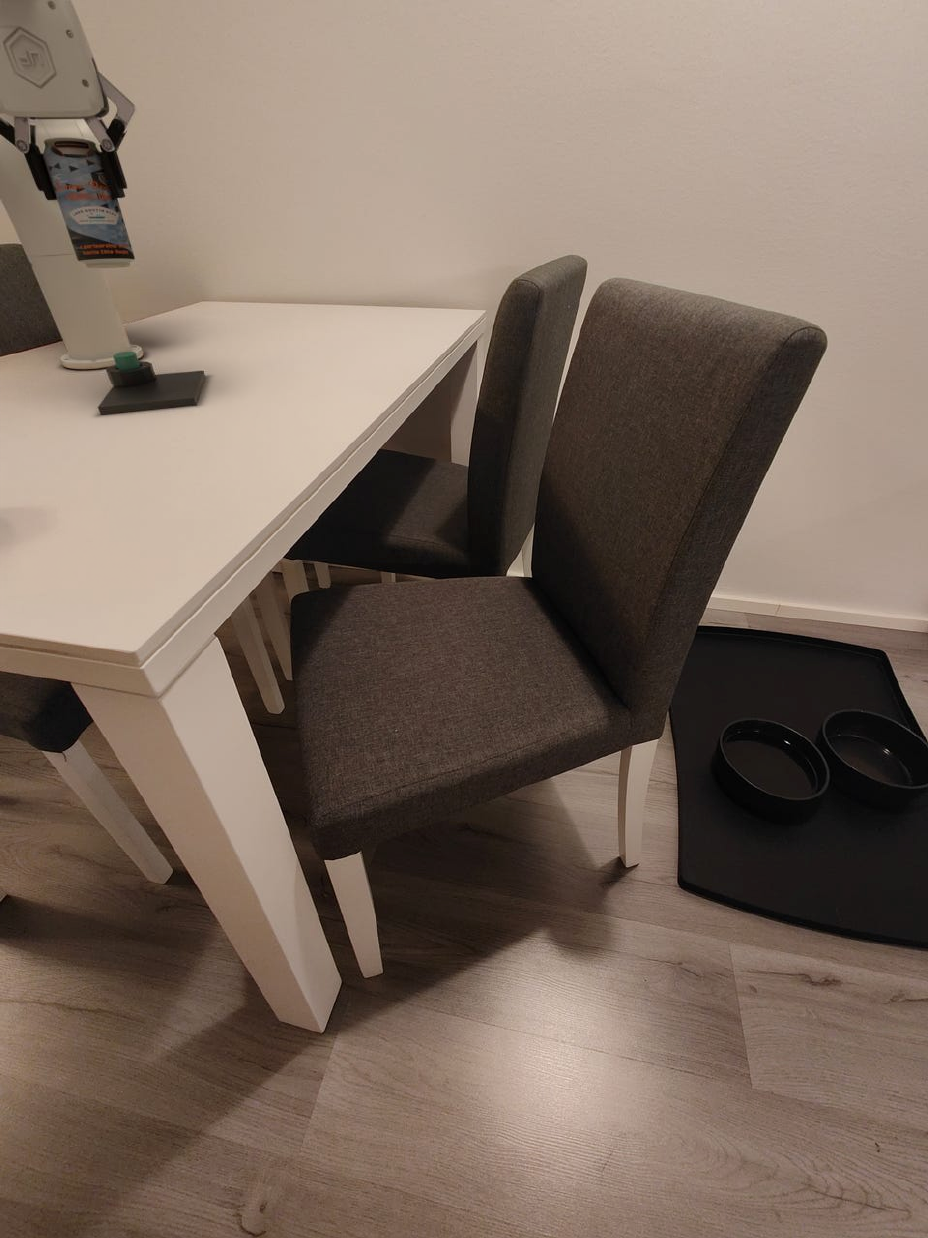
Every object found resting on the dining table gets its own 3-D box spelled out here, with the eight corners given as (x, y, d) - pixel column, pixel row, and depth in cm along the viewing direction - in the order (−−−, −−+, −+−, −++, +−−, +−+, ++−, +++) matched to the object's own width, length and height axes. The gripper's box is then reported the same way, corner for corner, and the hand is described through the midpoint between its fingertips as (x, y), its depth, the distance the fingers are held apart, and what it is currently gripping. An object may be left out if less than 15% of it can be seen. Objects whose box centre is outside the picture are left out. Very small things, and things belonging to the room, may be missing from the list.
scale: (119, 384, 86) (111, 363, 84) (205, 376, 88) (199, 355, 86) (96, 415, 75) (87, 391, 73) (196, 405, 77) (189, 382, 75)
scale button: (120, 367, 83) (115, 352, 82) (142, 365, 84) (137, 350, 82) (116, 372, 81) (110, 357, 80) (139, 370, 81) (133, 355, 80)
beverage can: (79, 275, 64) (26, 136, 57) (85, 267, 70) (37, 139, 62) (139, 270, 66) (95, 136, 59) (140, 263, 71) (100, 138, 64)
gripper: (-128, -61, 48) (-12, 202, 59) (94, -51, 51) (164, 197, 62) (-86, -37, 53) (13, 199, 65) (112, -30, 57) (173, 194, 68)
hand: (86, 196), depth 63 cm, fingers closed on beverage can, 6 cm apart
